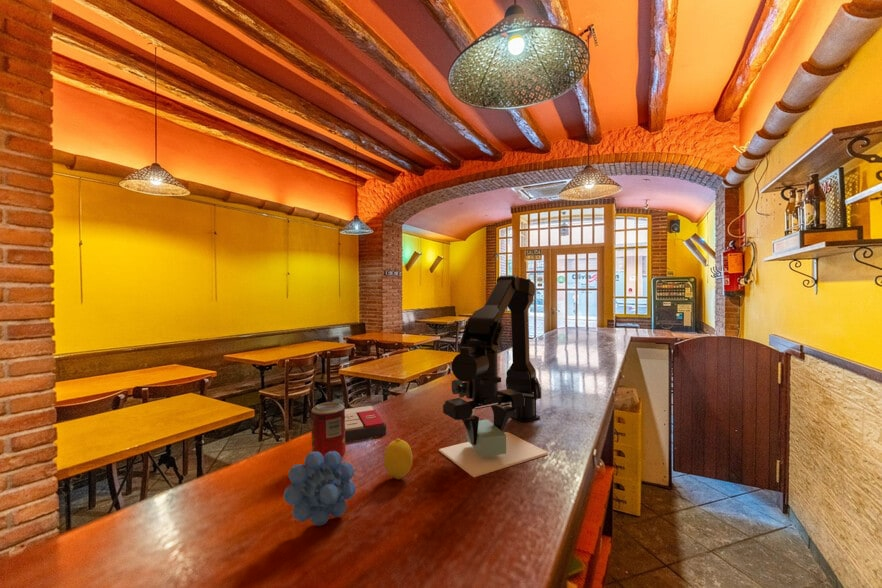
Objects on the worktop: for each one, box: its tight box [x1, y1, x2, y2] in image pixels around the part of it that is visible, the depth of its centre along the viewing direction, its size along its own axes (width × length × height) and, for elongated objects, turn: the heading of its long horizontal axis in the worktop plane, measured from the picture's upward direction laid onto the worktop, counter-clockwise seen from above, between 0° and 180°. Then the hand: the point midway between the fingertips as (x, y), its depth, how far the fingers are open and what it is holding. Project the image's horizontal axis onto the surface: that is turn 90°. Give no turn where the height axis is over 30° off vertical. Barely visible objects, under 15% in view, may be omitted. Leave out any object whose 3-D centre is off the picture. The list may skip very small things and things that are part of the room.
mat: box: [438, 431, 549, 478], centre depth 86 cm, size 20×14×1 cm
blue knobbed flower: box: [283, 451, 357, 527], centre depth 60 cm, size 12×7×12 cm, turn 130°
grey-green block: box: [465, 419, 506, 457], centre depth 85 cm, size 10×6×4 cm, turn 15°
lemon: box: [383, 437, 414, 480], centre depth 74 cm, size 6×6×8 cm
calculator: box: [345, 405, 387, 443], centre depth 102 cm, size 11×4×15 cm
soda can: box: [310, 401, 346, 459], centre depth 83 cm, size 7×7×12 cm
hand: (485, 441), depth 85 cm, fingers closed on grey-green block, 6 cm apart
